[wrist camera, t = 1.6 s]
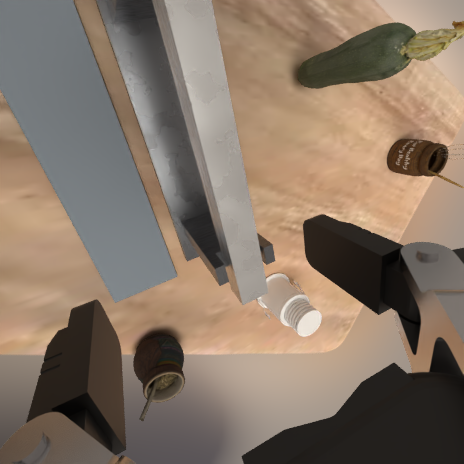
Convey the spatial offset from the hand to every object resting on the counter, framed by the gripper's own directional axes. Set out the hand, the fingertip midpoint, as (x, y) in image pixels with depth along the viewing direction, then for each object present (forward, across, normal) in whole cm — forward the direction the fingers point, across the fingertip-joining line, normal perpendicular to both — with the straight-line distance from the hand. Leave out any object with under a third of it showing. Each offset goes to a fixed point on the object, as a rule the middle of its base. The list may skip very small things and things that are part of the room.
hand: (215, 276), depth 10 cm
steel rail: (+15, -5, -3) cm, 16 cm away
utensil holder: (+28, -44, +10) cm, 53 cm away
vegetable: (+27, -23, -7) cm, 37 cm away
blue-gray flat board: (+27, +5, -3) cm, 28 cm away
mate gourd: (+28, +7, +27) cm, 39 cm away
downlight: (+28, -15, +26) cm, 41 cm away
